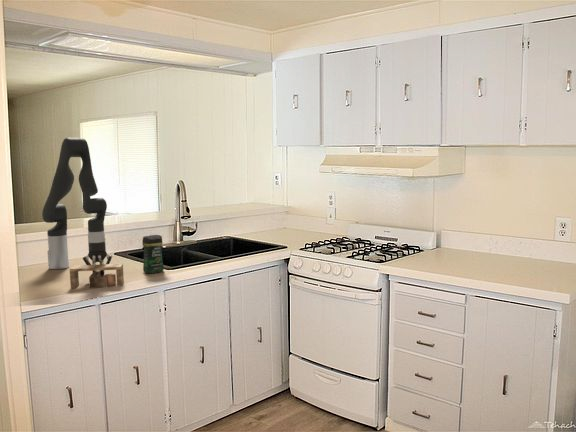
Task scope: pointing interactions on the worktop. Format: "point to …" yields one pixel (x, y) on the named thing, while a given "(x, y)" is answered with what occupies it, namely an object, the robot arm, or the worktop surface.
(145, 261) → the coffee jar
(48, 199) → the robot arm
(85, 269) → the shelf
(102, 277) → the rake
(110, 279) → the reddish brown block
